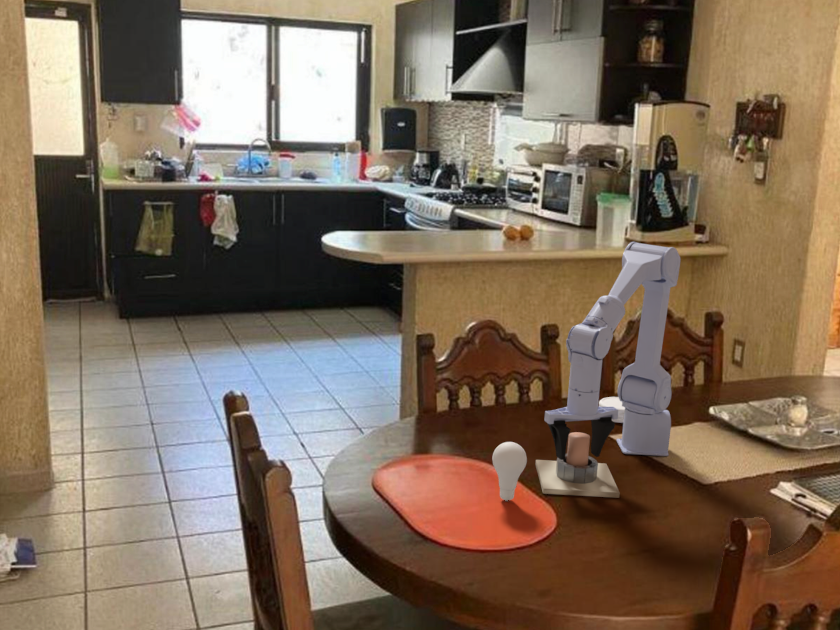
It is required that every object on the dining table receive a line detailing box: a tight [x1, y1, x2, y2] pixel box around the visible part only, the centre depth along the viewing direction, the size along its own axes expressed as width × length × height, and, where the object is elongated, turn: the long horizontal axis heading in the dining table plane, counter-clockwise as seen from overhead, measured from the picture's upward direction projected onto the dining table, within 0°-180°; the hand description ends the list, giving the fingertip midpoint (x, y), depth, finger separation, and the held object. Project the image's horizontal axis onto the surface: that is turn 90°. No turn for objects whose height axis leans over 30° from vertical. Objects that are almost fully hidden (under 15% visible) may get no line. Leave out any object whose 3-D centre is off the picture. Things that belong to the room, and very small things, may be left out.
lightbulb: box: [491, 441, 528, 502], centre depth 159 cm, size 6×6×11 cm
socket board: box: [534, 453, 621, 499], centre depth 171 cm, size 14×14×4 cm
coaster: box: [598, 396, 625, 424], centre depth 209 cm, size 10×10×4 cm
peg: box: [566, 431, 591, 467], centre depth 170 cm, size 4×4×8 cm
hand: (577, 456), depth 170 cm, fingers open, 7 cm apart
